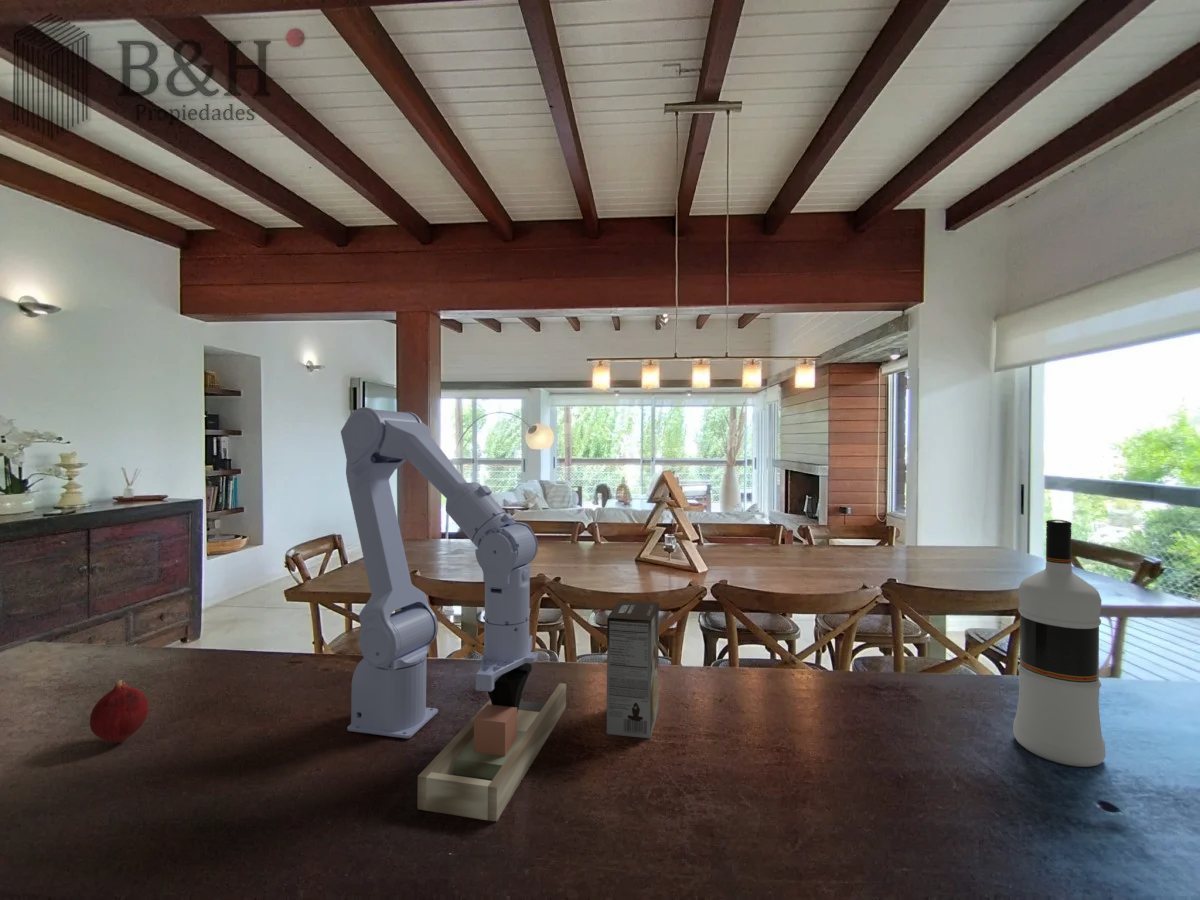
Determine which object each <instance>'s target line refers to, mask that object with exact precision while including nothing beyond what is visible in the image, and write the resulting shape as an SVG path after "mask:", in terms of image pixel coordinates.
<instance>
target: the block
mask: <svg viewBox="0 0 1200 900" xmlns="http://www.w3.org/2000/svg"><path fill="white" fill-rule="evenodd" d="M516 740H517V708H516V707H507V706H498V705H490V704H487V705H486V707H485V708H484V709H483V710H482V711H481V712H480V713H479V714H478V715H477V716H476V717H475V719H474V752H475V753H483V754H490V755H498V756H506V754H507V753H508V752H509V750H510V749H511V747H512V746H513V744H514V743H515V742H516Z"/></svg>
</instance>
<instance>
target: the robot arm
mask: <svg viewBox="0 0 1200 900" xmlns="http://www.w3.org/2000/svg"><path fill="white" fill-rule="evenodd" d="M340 436H341V440H342V444H343V445H342V446H343V450H344V453H345V458H346V462H345V463H346V465H345V476H346V482H347V487H348V492H349V496H350V501H351V506H352V510H353V514H354V519H355V524H356V529H357V533H358V538H359V542H360V548H361V553H362V557H363V561H364V566H365V570H366V571H365V572H366V576H367V581H368V584H369V589H370V590H369V591H370V594H371V595H370V597H369V599H368V601H367V602H366V603H365V605H364V606H363V608H362V609H361V611H360V612H359V615H358V618H359V623H360V631H359V637H358V638H359V639H358V644H359V649H360V652H361V654H362V656H363V658H362V659H361V660H360V661H359V663H358V664H357V665H356V667H355V669H354V672H353V675H352V680H351V694H350V695H351V701H350V702H351V703H350V704H351V707H350V708H351V709H350V710H351V713H350V717H351V718H350V724H349V725H348V726H347V732H354V733H360V734H369V735H370V734H371V735H378V736H385V737H393V738H402V739H410V738H412V737H414V735H415V734H416V733H417V732H418V731H419V730H420V729H422V727H424V726H425V725H426V724H427V723H428V722H429V721H430V720H431V719H433V718H434V716H436V715H437V714H438V713H439V709H438V708H436V707H427V655H428V653H430V645H431V644H432V643H433V642H434V641H435V639H436V638H437V636H438V632H439V623H438V619H437V616H436V614H435V612H434V611H433V609H432V608H431V606H430V604H429V601H428V598H427V594H426V593H425V592H424V591H422V590H421V589H419V588H418V587H416V586H415V585H414V584H412V579H411V574H410V569H409V565H408V560H407V557H406V551H405V547H404V543H403V539H402V533H401V529H400V524H399V521H398V515H397V512H396V506H395V503H394V502H395V501H394V498H393V492H392V489H391V483H390V478H391V476H392V475H393V474H394V472H395V471H396V470H397V469H399V467H401V465H403V464H404V463H405V462H406V461H408V462H409V463H410V464H411V465H412V466H413V467H414V468H416V470H417V471H419V472H420V474H421V475H422V476H423V477H425V478H426V480H427V481H428V482H429V483H431V485H432V486H433V487H434V488H435V489H436V490H437V491H438V492H439V493H440V494H441V495H442V496H443V497H445V499H446V501H445V512H446V514H447V515H448V516H449V517H450V518H451V520H452V521H454V523H455V524H456V526H458V528H459V529H460V530H461V531H462V532H463V533H464V534H465V535H466V537H467V538H468V539H469V540H470V541H471V542H472V543H473V544H474V547H476V549H474V552H475V559H476V561H477V563H478V565H479V567H480V568H481V570H482V574H483V583H484V629H483V630H484V632H483V634H484V641H483V643H484V645H483V646H484V647H483V652H482V656H481V660H480V666H479V670H478V671H477V672H476V673H475V691H480V692H482V691H483V692H487V694H488V696H489V700H490V699H491V702H492V705H498V706H507V707H516V708H517V713H518V709H519V704H520V701H521V699H522V694H523V691H524V687H525V686H526V682H527V680H528V677H529V676H530V673H531V672H532V670H533V669H532V667H533V666H532V664H534V663H535V662H536V661H537V660H538V658H539V656H538V655H539V654H538V652H535V651H534V652H533V651H532V650H533V635H531V634H530V602H531V601H530V598H531V597H530V595H531V593H530V591H531V589H530V587H531V586H530V585H531V584H530V581H531V579H530V578H531V574H530V573H531V569H530V567H531V564H530V563H531V562H532V561H534V559H535V558H536V556H537V554H538V547H539V544H538V539H537V536H536V534H535V532H534V531H533V529H532V527H531V526H530V525H529V524H527V523H525V522H521V521H516V520H514V519H515V518H514V516H513V515H512V514H511V513H510V512H509V513H508V512H506V511H505V509H503V508H502V507H501V506H500V504H499V503H498V502H497V501H496V500H495V499H494V498H493V496H492V495H491V494H492V492H493V491H492V490H491V488H490V487H488V485H481V483H480V482H475V481H474V482H468V481H467V480H466V479H465V478H464V477H463V475H462V474H461V473H460V472H459V470H458V468H456V466H455V465H454V464H453V463H452V461H451V460H450V459H449V458H448V456H447V455H446V454H445V452H444V451H443V450H442V449H441V448H440V446H439V445H438V444H437V442H436V440H434V438H433V437H432V435H431V429H430V427H429V426H428V425H427V424H426V423H424V422H423V421H422V419H421V418H420V417H419V416H418V415H417V414H416V413H413V412H412V411H391V410H385V409H384V410H382V409H374V408H371V407H359V408H356V409H354V410H353V411H352V412H351V413H350V415H349V417H348V418H347V420H346V421H345V423H344V425H343V426H342V429H340ZM396 610H397V611H396Z"/></svg>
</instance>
